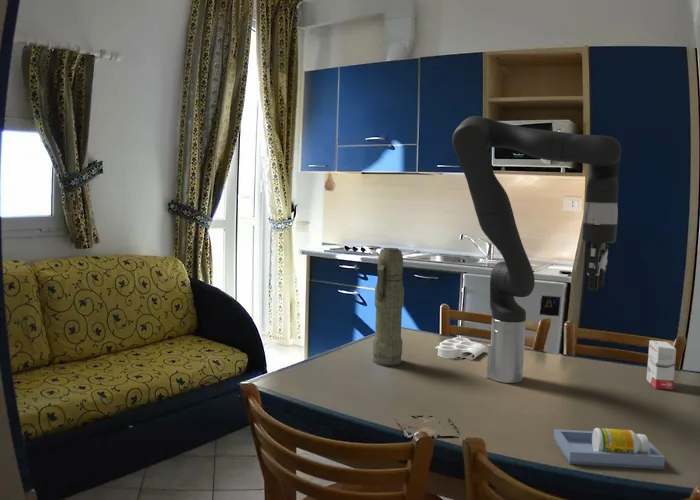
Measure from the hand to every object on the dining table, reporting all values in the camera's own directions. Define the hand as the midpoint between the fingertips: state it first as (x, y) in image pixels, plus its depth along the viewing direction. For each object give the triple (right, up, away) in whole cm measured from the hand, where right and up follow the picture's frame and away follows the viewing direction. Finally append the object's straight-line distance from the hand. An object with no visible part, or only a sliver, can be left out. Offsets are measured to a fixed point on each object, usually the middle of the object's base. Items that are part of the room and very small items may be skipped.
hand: (595, 288), depth 142 cm
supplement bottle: (-10, -29, -23) cm, 39 cm away
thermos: (-48, -25, +39) cm, 67 cm away
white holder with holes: (-24, -25, +51) cm, 62 cm away
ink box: (+28, -29, +24) cm, 47 cm away
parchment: (-42, -31, -10) cm, 53 cm away
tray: (-7, -32, -22) cm, 40 cm away
